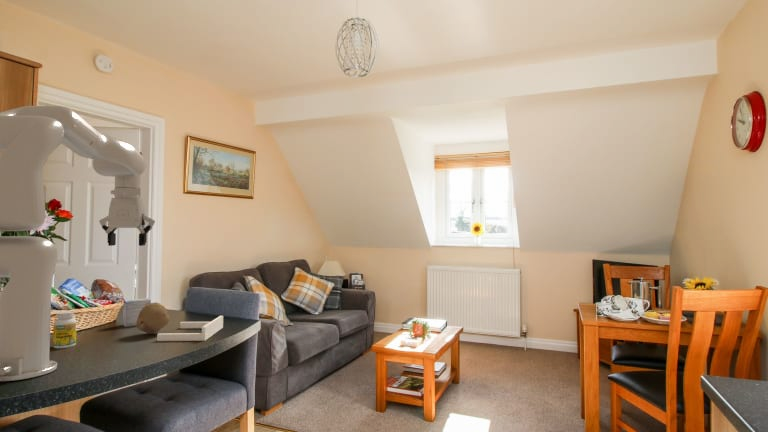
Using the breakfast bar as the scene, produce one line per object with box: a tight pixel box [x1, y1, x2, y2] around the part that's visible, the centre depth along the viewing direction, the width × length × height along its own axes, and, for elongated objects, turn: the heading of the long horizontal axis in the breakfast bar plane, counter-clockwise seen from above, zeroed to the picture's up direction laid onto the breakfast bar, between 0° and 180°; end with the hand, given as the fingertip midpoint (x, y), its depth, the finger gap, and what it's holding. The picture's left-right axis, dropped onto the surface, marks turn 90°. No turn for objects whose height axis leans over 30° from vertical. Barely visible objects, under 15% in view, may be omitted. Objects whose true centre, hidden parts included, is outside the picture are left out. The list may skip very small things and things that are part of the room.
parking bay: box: [156, 315, 224, 342], centre depth 143 cm, size 18×14×4 cm
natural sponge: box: [136, 302, 170, 335], centre depth 142 cm, size 9×9×10 cm
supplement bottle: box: [52, 310, 77, 349], centre depth 127 cm, size 5×5×10 cm
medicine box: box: [122, 297, 152, 328], centre depth 156 cm, size 8×4×9 cm, turn 130°
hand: (127, 245), depth 148 cm, fingers open, 9 cm apart
